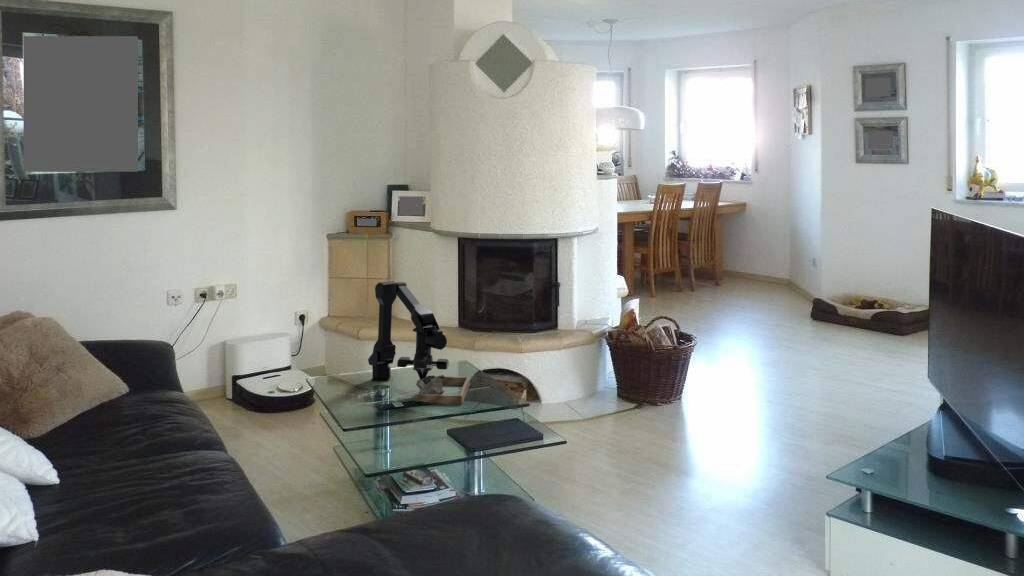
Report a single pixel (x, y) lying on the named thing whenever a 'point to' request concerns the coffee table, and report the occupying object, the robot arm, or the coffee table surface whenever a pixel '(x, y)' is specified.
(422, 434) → the coffee table surface
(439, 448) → the coffee table surface
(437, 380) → the decorative stone
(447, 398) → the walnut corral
